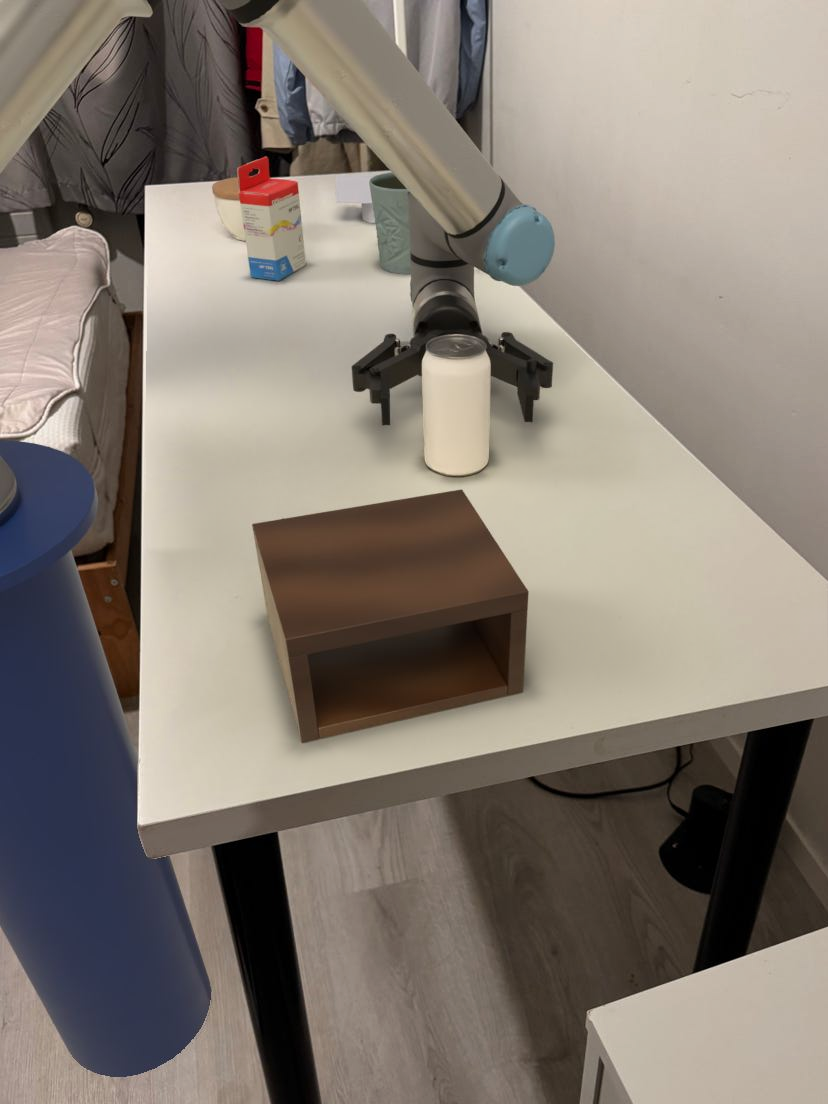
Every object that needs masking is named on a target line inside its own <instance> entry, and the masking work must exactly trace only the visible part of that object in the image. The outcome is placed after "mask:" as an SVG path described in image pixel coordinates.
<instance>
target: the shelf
mask: <svg viewBox="0 0 828 1104" xmlns="http://www.w3.org/2000/svg"><path fill="white" fill-rule="evenodd" d="M251 527H252V531H253V538H254V544H255V550H256V557H257V562H258V568H259V573H260V581H261V587H262V591H263V597H264V603H265V609H266V616H267V621H268V625H269V629H270V632H271V636H272V639H273V643H274V647H275V651H276V654H277V657H278V661H279V665H280V669H281V673H282V676H283V679H284V683H285V687H286V691H287V694H288V698H289V702H290V705H291V709H292V713H293V717H294V721H295V724H296V727H297V730H298V731H297V732H298V734H299V739H300V741H301V744H305V743H308V742H313V741H316V740H319V739H325V738H330V737H333V736H339V735H343V734H346V733H351V732H356V731H360V730H364V729H365V730H366V729H369V728H374V727H377V726H381V725H386V724H390V723H394V722H395V723H396V722H400V721H403V720H408V719H413V718H417V717H421V716H424V715H430V714H434V713H439V712H443V711H447V710H451V709H456V708H460V707H464V706H465V707H466V706H469V705H473V704H477V703H482V702H487V701H490V700H491V701H492V700H495V699H500V698H504V697H507V696H508V697H509V696H513V695H517V694H522V693H524V683H525V682H524V681H525V680H524V679H525V665H526V664H525V663H526V643H527V642H526V641H527V629H528V628H527V627H528V607H529V590H528V588H527V587H526V586H525V584H524V582H523V581H522V580H521V579H522V578H520V576H519V575H518V573H517V571H516V570H515V569H514V567H513V565H512V563H511V562H510V561H509V559H508V558H507V556H506V555H505V553H504V551H503V550H502V549H501V547H500V545H499V544H498V542H497V541H496V538H494V536H493V535H492V533H491V531H490V530H489V528H488V527H487V526H486V524H485V522H484V521H483V519H482V517H481V516H480V515H479V513H478V511H477V510H476V509H475V507H474V504H472V502H471V500H470V499H469V498H468V496H467V495H466V493H465V491H464V490H463V488H462V489H455V490H449V491H443V492H438V493H431V494H425V495H419V496H413V497H406V498H400V499H395V500H388V501H383V502H376V503H371V504H365V505H358V506H352V507H347V508H341V509H333V510H329V511H321V512H315V513H309V514H304V515H303V514H302V515H298V516H292V517H285V518H280V519H274V520H267V521H262V522H254V523H252V524H251Z"/></svg>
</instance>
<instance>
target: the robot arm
mask: <svg viewBox="0 0 828 1104" xmlns="http://www.w3.org/2000/svg"><path fill="white" fill-rule="evenodd" d="M217 1H218V2H219V3H220V4H221V5H222V6H223V7H224V9H226V10H227V12H228V13H229V14H230V15H231V16H232V17H233V18H234V19H235V20H236V21H237V23H238V24H240V25H241V27H245V28H260V29H261V30H262V31H263V32H264V33H265V34H266V35H267V36H268V38H270V39H271V41H272V42H273V43H274V44H275V45H276V46H277V47H278V48H279V50H281V52H282V53H283V54H284V55H285V56H286V57H287V58H288V59H289V60H290V62H291V63H292V64H293V65H294V66H295V67H296V68H297V69H298V70H299V72H301V74H302V75H303V76H304V77H305V78H306V79H307V81H308V82H309V83H311V85H312V86H313V87H314V88H315V89H316V90H317V91H318V92H319V94H320V95H321V96H322V97H323V98H324V99H325V100H326V101H327V102H328V103H329V104H330V106H331V107H332V108H333V109H334V110H335V111H336V112H337V113H338V115H339V116H340V117H341V118H342V119H343V120H344V121H345V122H346V123H347V125H348V126H349V127H350V128H351V129H352V130H353V131H354V132H355V133H356V134H357V135H358V137H359V138H360V139H361V140H362V142H364V144H366V145H367V146H368V148H369V149H370V150H371V151H372V152H373V153H374V154H375V155H376V157H377V158H378V159H379V160H380V161H381V162H382V163H383V164H384V165H385V166H386V168H387V169H388V170H389V172H392V173H393V174H394V175H395V176H396V177H397V178H398V179H399V180H400V182H401V183H402V184H403V185H404V186H405V187H406V188H407V195H408V210H409V229H410V247H411V251H410V255H411V257H410V267H411V274H410V280H409V281H410V282H409V287H410V288H409V289H410V291H409V296H410V301H411V305H412V310H411V311H412V327H413V328H412V331H413V337H412V338H411V339H410V340H409V341H403V340H402V341H401V339H400V338H397V334H395V333H387V334H385V335H384V338H383V341H382V342H381V343H379V344H378V345H377V346H375V347H374V348H373V349H372V350H371V351H369V352H368V353H367V354H365V355H364V356H363V357H361V358H360V359H359V360H358V361H357V362H355V363H353V364H352V365H351V379H352V388H353V391H354V392H356V393H362V392H364V391H366V390H369V403H370V404H372V405H373V404H374V405H375V404H376V405H377V404H380V410H381V412H380V413H381V425H382V426H390V425H391V389H393V388H395V387H397V386H399V385H401V384H403V383H405V382H407V381H409V380H410V379H413V378H414V377H417V376H419V377H422V360H423V357H424V355H425V353H426V350H427V349H426V344H427V342H428V341H429V340H431V339H433V338H435V337H438V336H443V335H451V334H461V335H469V336H473V337H477V338H479V339H481V340H483V341H484V342H485V343H486V346H487V347H486V352H487V354H488V356H489V359H490V364H491V378H492V377H493V378H495V379H497V380H500V381H502V382H504V383H507V384H508V385H511V386H513V387H516V388H517V391H516V393H517V397H518V402H519V406H520V409H521V414H522V417H523V421H524V423H532V422H533V416H534V401H539V400H540V398H541V388H542V389H551V388H552V386H553V372H554V362H553V361H551V360H549V359H548V358H546V357H545V356H544V355H542V354H540V353H539V352H537V351H535V350H533V349H532V348H530V347H529V346H527V345H525V344H524V343H522V342H520V341H519V340H517V339H516V337H515V336H514V334H513V333H512V332H509V331H504V332H501V334H500V337H498V339H491V340H489V338H488V337H487V336H486V335H484V334H483V330H482V325H481V321H480V317H479V311H478V308H477V304H476V298H475V297H476V296H475V269H477V270H479V271H481V272H482V273H484V274H486V275H487V276H489V277H490V278H491V279H492V280H494V281H496V282H502V283H504V284H507V285H509V286H513V287H523V286H528V285H530V284H531V283H534V282H535V281H536V280H538V279H539V278H540V277H541V276H542V275H543V274H544V273H545V271H546V270H547V268H548V267H549V265H550V263H551V261H552V258H553V256H554V253H555V246H556V243H555V242H556V239H555V232H554V229H553V226H552V223H551V222H550V221H549V219H548V218H547V217H546V216H545V215H544V214H542V213H541V212H539V211H538V210H537V209H536V208H535V207H533V206H532V205H529V204H524V203H523V202H521V201H520V199H519V198H518V197H517V196H516V194H515V193H514V192H513V190H511V188H510V187H509V186H508V184H507V183H506V182H505V180H503V179H502V177H501V176H500V175H499V174H498V173H497V171H496V169H494V167H493V166H492V165H491V163H490V162H489V161H488V159H486V157H485V155H483V153H482V152H481V151H480V149H479V148H478V147H477V145H476V144H475V142H473V140H472V139H471V138H470V137H469V135H468V134H467V133H466V132H465V130H464V128H463V127H462V126H461V125H460V123H458V120H456V119H455V117H454V116H453V114H451V111H449V109H448V108H447V106H445V104H444V103H443V102H442V100H441V99H440V98H439V96H437V94H436V93H435V92H434V91H433V89H432V88H431V87H430V85H429V84H428V82H427V81H426V80H425V79H424V77H423V76H422V75H421V73H420V72H419V71H418V70H417V69H416V67H415V66H414V64H413V63H412V62H411V61H410V59H409V57H407V55H406V54H405V53H404V51H402V49H401V48H400V46H399V45H398V44H397V43H396V42H395V40H394V39H393V37H392V36H391V35H390V34H389V32H388V31H387V30H386V28H385V27H384V26H383V25H382V23H381V22H380V21H379V20H378V18H377V17H376V16H375V15H374V13H373V12H372V10H371V9H370V8H369V7H368V6H367V4H366V2H364V1H363V0H217ZM163 2H164V0H0V174H2V172H3V171H4V170H5V168H6V167H7V166H8V165H9V163H10V162H11V161H12V160H13V158H14V157H15V155H16V154H17V153H18V152H19V151H20V149H21V148H22V146H23V145H24V144H25V143H26V141H27V140H28V139H29V137H31V135H32V133H34V132H35V130H36V129H37V127H38V126H39V125H40V123H42V121H43V120H44V119H45V117H46V116H47V114H48V113H49V112H50V111H51V110H52V109H53V107H54V105H55V104H56V103H57V102H58V101H59V99H60V98H61V97H62V96H63V94H64V93H65V91H66V90H67V89H68V88H69V87H70V85H71V84H72V82H73V81H74V80H75V79H76V77H77V76H78V75H79V74H80V72H81V71H82V70H83V69H84V68H85V66H86V65H87V64H88V62H89V61H90V60H91V58H92V57H93V56H94V54H95V53H96V52H97V51H98V50H99V48H100V47H101V45H102V44H103V43H104V42H105V41H106V39H107V38H108V37H109V36H110V34H111V33H112V31H114V29H115V28H116V26H117V25H118V24H119V23H120V21H121V20H122V19H124V18H126V17H140V18H151V17H152V15H153V14H154V13H155V12H156V10H157V9H158V7H159V6H160V5H161V4H162V3H163ZM20 501H21V493H20V490H19V487H18V484H17V481H16V478H15V475H14V473H13V471H12V470H11V469H10V467H9V466H8V465H7V463H6V462H5V461H4V460H3V458H2V457H1V456H0V527H1V526H2V525H3V524H5V523H6V522H7V521H8V520H9V519H10V518H11V517H12V516H13V515H14V513H15V512H16V511H17V509H18V507H19V504H20Z"/></svg>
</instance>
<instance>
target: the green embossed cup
mask: <svg viewBox="0 0 828 1104" xmlns="http://www.w3.org/2000/svg"><path fill="white" fill-rule="evenodd" d="M375 175H376V176H374V177H372V178H371V179H370V181H369V185H370V192H371V198H372V202H373V206H374V207H373V211H374V218H375V223H374V225H375V230H376V239H377V248H378V249H377V250H378V258H379V264H380V267H381V268H382V270H384V271H387V272H390V273H393V274H400V275H411V267H410V257H411V255H410V251H411V247H410V229H409V210H408V195H407V188H406V187H405V186H404V185H403V184H402V183H401V182H400V180H399V179H398V178H397V177H396V176H395V175H394V174H393V173H392V172H391V171H389V172H383V173H379V174H375Z"/></svg>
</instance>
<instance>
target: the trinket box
mask: <svg viewBox="0 0 828 1104" xmlns="http://www.w3.org/2000/svg"><path fill="white" fill-rule="evenodd" d="M252 176H253V175H251V176H250V175H249V177H252ZM270 179H272V178H271V177H270ZM211 189H212V190H211V191H212V194H213V198H214V203H215V208H216V211H217V212H216V213H217V215H218V217H219V220H220V222H221V223H222V226H223V227H224V228H225V229H226V230H227V231H228V233H230V234H232V235H233V237H234V239H236V240H238V241H243V242H246V239H245V232H244V225H243V218H242V212H241V205H240V198H239V184H238V176H235V177H228V178H224V179H221V180H218V181H216V182H214V183H213V184H212V186H211Z"/></svg>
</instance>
